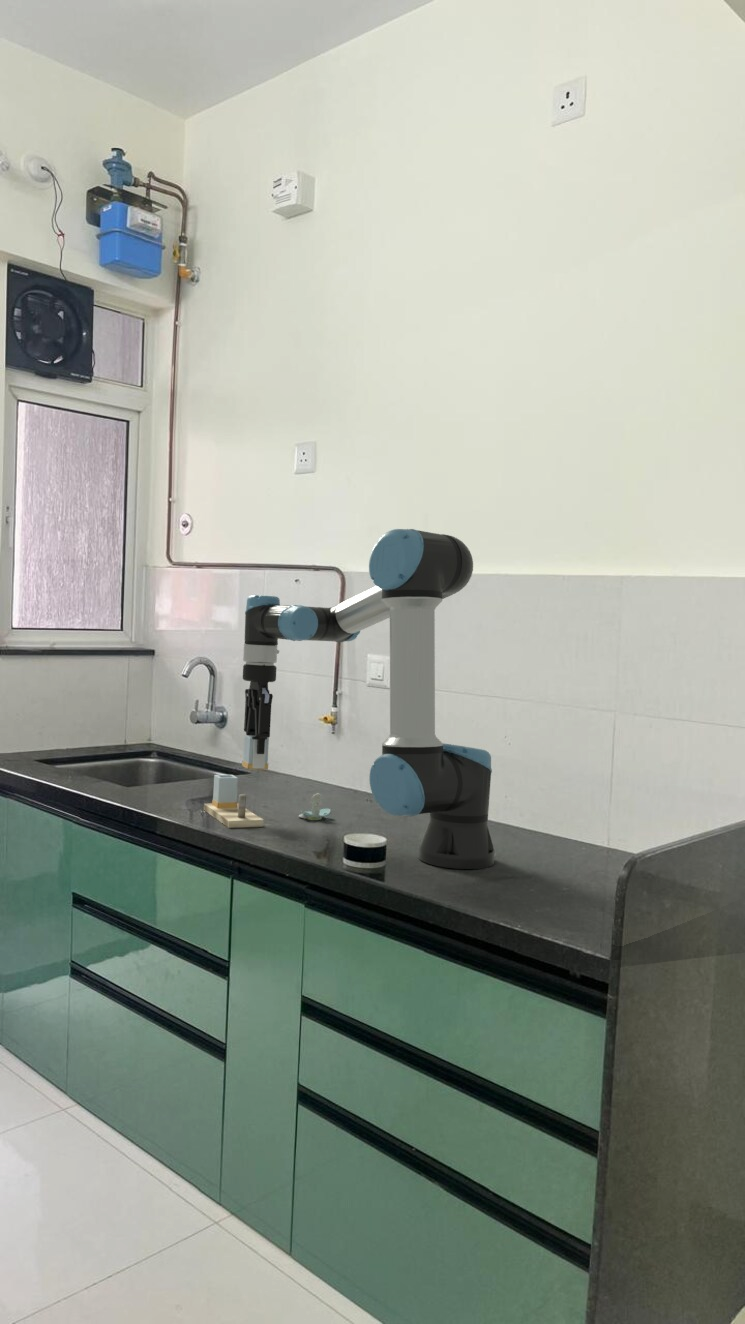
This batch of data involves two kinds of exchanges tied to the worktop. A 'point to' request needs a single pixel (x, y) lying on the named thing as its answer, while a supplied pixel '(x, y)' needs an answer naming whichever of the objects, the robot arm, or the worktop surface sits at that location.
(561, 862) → the worktop surface
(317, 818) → the pacifier
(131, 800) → the worktop surface
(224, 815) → the pin board
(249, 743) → the sleeve
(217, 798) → the sleeve
